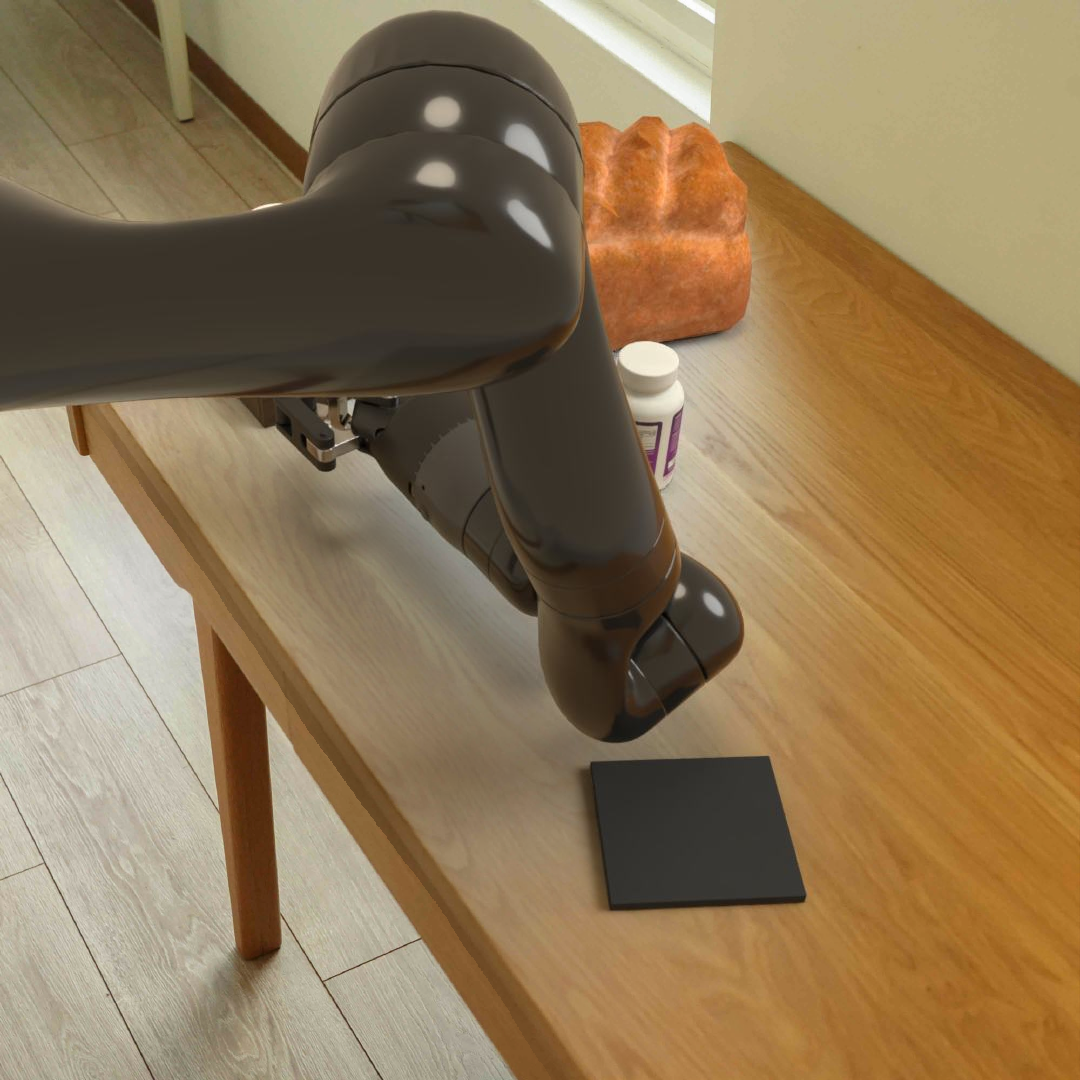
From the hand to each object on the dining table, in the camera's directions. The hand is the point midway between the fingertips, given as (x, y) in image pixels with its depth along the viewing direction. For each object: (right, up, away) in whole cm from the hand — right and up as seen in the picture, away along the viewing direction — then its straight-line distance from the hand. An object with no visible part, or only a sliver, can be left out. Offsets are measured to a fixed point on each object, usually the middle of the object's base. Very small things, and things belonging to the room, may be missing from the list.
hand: (339, 341), depth 89 cm
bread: (+16, +5, +19) cm, 25 cm away
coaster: (+21, -29, -18) cm, 40 cm away
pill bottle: (+20, -9, +5) cm, 22 cm away
